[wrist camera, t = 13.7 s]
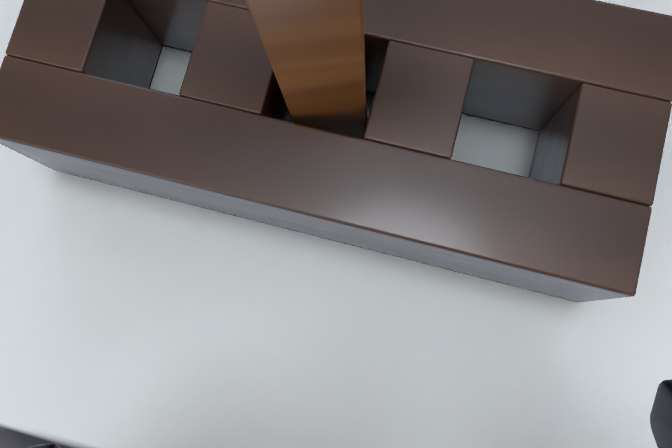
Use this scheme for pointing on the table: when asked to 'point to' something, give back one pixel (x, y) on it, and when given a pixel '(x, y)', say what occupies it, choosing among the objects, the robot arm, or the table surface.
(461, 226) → the rack
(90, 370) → the table surface
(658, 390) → the robot arm
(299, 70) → the brown beam with peg
